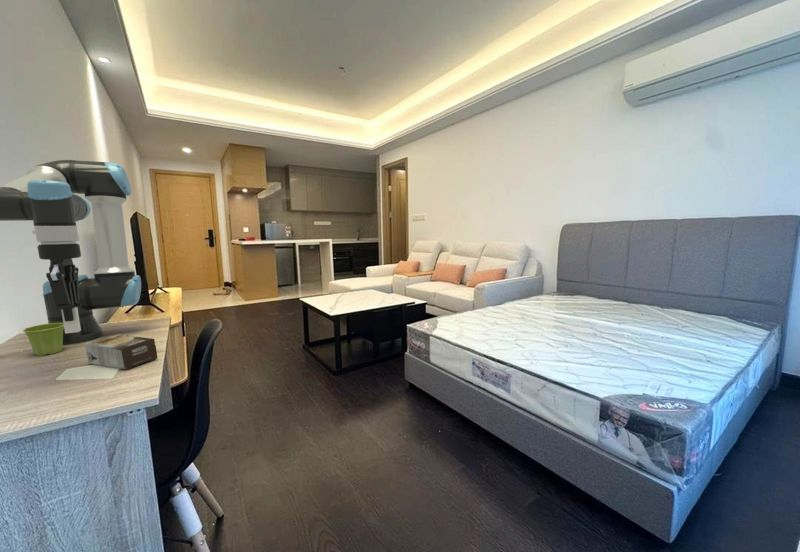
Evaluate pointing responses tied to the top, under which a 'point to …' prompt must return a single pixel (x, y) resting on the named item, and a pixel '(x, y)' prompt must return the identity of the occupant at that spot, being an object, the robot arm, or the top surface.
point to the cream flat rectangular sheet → (89, 372)
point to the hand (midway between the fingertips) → (73, 331)
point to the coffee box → (121, 351)
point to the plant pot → (46, 338)
